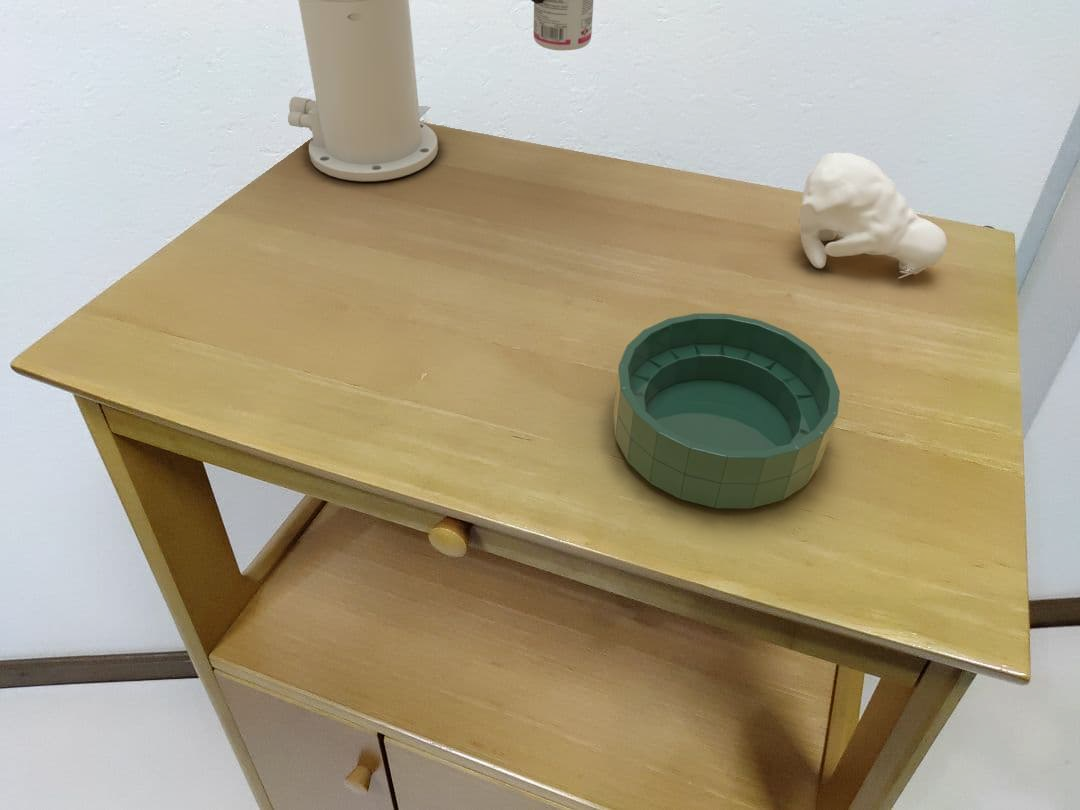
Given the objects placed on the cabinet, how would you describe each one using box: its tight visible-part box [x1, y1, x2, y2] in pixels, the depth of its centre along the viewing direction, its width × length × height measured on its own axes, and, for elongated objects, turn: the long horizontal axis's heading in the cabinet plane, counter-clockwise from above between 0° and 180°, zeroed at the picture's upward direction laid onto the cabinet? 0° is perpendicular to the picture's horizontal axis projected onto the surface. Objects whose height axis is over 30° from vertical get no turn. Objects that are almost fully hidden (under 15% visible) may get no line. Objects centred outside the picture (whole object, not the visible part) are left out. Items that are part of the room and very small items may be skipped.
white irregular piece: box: [797, 152, 947, 279], centre depth 66 cm, size 6×8×12 cm
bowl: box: [612, 312, 841, 510], centre depth 52 cm, size 13×13×5 cm
